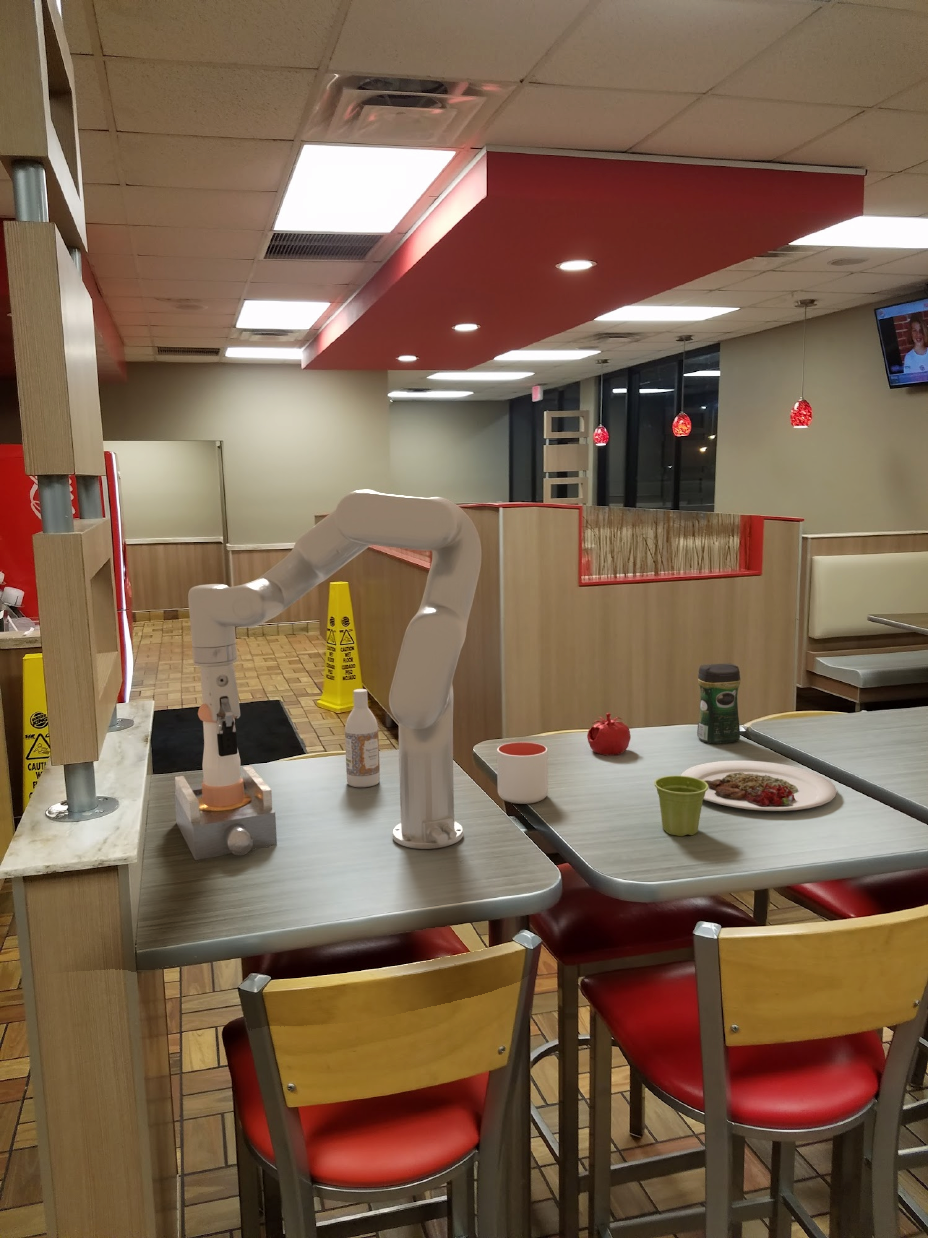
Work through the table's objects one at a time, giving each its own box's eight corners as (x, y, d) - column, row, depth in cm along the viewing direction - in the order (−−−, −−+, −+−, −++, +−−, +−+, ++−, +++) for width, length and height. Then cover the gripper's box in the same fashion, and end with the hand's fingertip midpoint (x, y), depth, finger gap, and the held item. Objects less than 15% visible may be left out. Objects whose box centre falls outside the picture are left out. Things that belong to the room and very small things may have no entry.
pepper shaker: (213, 810, 163) (206, 703, 160) (196, 799, 168) (189, 696, 165) (251, 800, 167) (245, 696, 164) (233, 790, 173) (227, 690, 170)
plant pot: (713, 826, 168) (714, 780, 166) (698, 844, 160) (699, 795, 158) (663, 817, 172) (664, 772, 171) (646, 834, 164) (646, 787, 163)
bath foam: (360, 790, 191) (357, 695, 188) (340, 783, 196) (336, 690, 193) (386, 782, 196) (383, 690, 193) (366, 775, 201) (363, 685, 198)
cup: (517, 786, 192) (516, 739, 191) (557, 795, 186) (557, 747, 184) (487, 799, 184) (486, 750, 183) (528, 809, 178) (528, 759, 177)
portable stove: (282, 853, 159) (280, 799, 158) (199, 869, 153) (195, 814, 152) (250, 810, 181) (248, 763, 179) (176, 822, 175) (173, 774, 173)
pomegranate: (633, 747, 218) (633, 708, 217) (627, 759, 209) (627, 719, 208) (591, 744, 221) (591, 706, 220) (583, 756, 212) (583, 716, 211)
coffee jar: (728, 734, 227) (730, 659, 225) (744, 743, 220) (746, 666, 217) (691, 737, 226) (693, 662, 223) (706, 746, 218) (707, 668, 215)
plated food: (744, 760, 207) (744, 746, 207) (867, 796, 183) (868, 779, 182) (648, 787, 190) (648, 771, 190) (770, 830, 166) (770, 812, 165)
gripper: (247, 659, 158) (254, 756, 160) (226, 645, 173) (233, 734, 176) (202, 664, 155) (210, 764, 157) (185, 650, 170) (192, 740, 172)
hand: (222, 748), depth 166 cm, fingers open, 9 cm apart
